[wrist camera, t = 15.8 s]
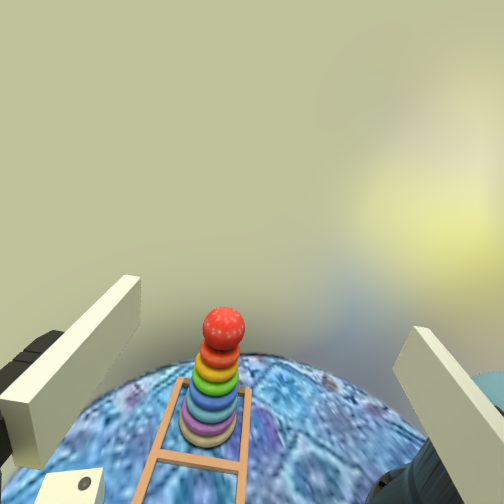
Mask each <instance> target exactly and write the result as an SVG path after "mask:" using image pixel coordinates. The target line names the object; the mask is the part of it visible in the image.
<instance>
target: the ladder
mask: <svg viewBox="0 0 504 504" xmlns="http://www.w3.org/2000/svg"><path fill="white" fill-rule="evenodd" d="M189 382H190V378H184V377H178V378H177V381H176V384H175V386H174V389H173V392H172V394H171V397H170V400H169V403H168V405H167V408H166V411H165V413H164V416H163V419H162V422H161V424H160V427H159V430H158V432H157V435H156V438H155V441H154V443H153V446H152V449H151V451H150V454H149V457H148V460H147V462H146V465H145V468H144V470H143V473H142V476H141V478H140V481H139V484H138V487H137V489H136V492H135V495H134V497H133V500H132V503H131V504H143V501H144V498H145V495H146V492H147V489H148V486H149V483H150V480H151V477H152V474H153V471H154V468H155V465H156V462H163V463H169V464H175V465H181V466H187V467H193V468H199V469H206V470H212V471H218V472H224V473H230V474H236V475H238V477H237V488H236V500H235V504H245V494H246V477H247V460H248V443H249V426H250V410H251V393H252V389H248V388H242V387H238V393H237V394H238V396H242V397H244V407H243V418H242V430H241V442H240V453H239V462H237V461H231V460H225V459H219V458H213V457H207V456H200V455H194V454H188V453H182V452H176V451H170V450H164V449H161V447H162V444H163V441H164V438H165V436H166V433H167V430H168V427H169V424H170V421H171V418H172V415H173V412H174V409H175V406H176V403H177V400H178V397H179V394H180V391H181V388H182V386H183V387H189Z"/></svg>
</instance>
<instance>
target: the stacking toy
mask: <svg viewBox="0 0 504 504" xmlns="http://www.w3.org/2000/svg"><path fill="white" fill-rule="evenodd" d="M244 332H245V325H244V320H243V318H242V316H241V315H240V314H239V313H238V312H237V311H236V310H234V309H232V308H229V307H220V308H217V309H214V310H213V311H211V312H210V313H209V314H208V315H207V317H206V318H205V320H204V323H203V335H204V338H205V340H204V341H203V342H202V344H201V347H200V352H199V353H198V355H197V357H196V360H195V366H194V368H193V373H192V377H191V379H190V382H189V388H188V390H187V394H186V396H185V397H184V400H183V402H182V408H181V411H180V416H179V425H180V429H181V432H182V434H183V435H184V437H185V438H186V439H187V440H188V441H189V442H190V443H192V444H194V445H196V446H199V447H214V446H217V445H219V444H221V443H223V442H224V441H226V440H227V439H228V438H229V437H230V435H231V434H232V432H233V430H234V428H235V425H236V405H237V401H238V394H237V393H238V378H239V373H238V364H239V363H238V358H239V355H240V347H239V343H240V341H241V340H242V338H243V336H244Z"/></svg>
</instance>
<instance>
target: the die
mask: <svg viewBox="0 0 504 504" xmlns="http://www.w3.org/2000/svg"><path fill="white" fill-rule="evenodd" d="M104 497H105V488H104V470H103V468H94V469H84V470H74V471H65V472H55V473H47V474H46V476H45V479H44V481H43V483H42V486H41V488H40V491H39V493H38V496H37V498H36V500H35V503H34V504H103V501H104Z"/></svg>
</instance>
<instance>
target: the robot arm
mask: <svg viewBox="0 0 504 504" xmlns="http://www.w3.org/2000/svg"><path fill="white" fill-rule="evenodd" d="M140 297H141V277H135V276H130V275H124V276H123V277H122V278H121V279H119V281H118V282H116V283H115V284H114V285H113V286H112V287H111V288H110V289H109V290H108V291H107V292H106V293H105V294H104V295H103V296H102V297H101V298H100V299H99V300H98V301H97V302H96V303H95V304H94V305H93V306H92V307H91V308H90V309H89V310H88V311H87V312H85V313H84V314H83V316H81V317H80V318H79V319H78V320H77V321H76V322H75V323H74V324H73V325H72V326H71V327H70V328H69V329H68V330H67V331H66V332H61V331H56V330H52V331H50V332H48V333H46V334H44V335H42V336H40V337H38V338H37V339H35V340H34V341H33V342H32V343H31V344H30V345H28V346H27V347H26V348H25V349H24V351H23V352H20V353H19V354H18V355H17V356H16V357H15V358H14V359H13V361H12V362H9V363H8V364H7V365H6V366H4V367H3V368H2V369H1V370H0V467H1V466H2V465H3V464H4V462H5V461H6V460H7V459H8V458H9V456H10V455H11V454H12V456H13V460H14V463H15V466H19V467H25V468H31V469H38V470H42V469H43V468H44V466H45V465H46V463H47V462H48V460H49V459H50V457H51V456H52V454H53V453H54V451H55V450H56V449H57V447H58V446H59V444H60V443H61V441H62V440H63V438H64V437H65V435H66V434H67V432H68V431H69V429H70V428H71V426H72V425H73V423H74V422H75V420H76V419H77V417H78V416H79V414H80V413H81V411H82V410H83V408H84V407H85V406H86V404H87V403H88V401H89V400H90V398H91V396H92V395H93V394H94V392H95V391H96V389H97V388H98V386H99V385H100V383H101V382H102V380H103V379H104V377H105V376H106V374H107V373H108V371H109V370H110V368H111V367H112V365H113V364H114V362H115V361H116V360H117V358H118V356H119V355H120V354H121V352H122V351H123V349H124V348H125V346H126V345H127V343H128V342H129V340H130V339H131V337H132V336H133V334H134V333H135V331H136V330H137V328H138V327H139V325H140ZM392 369H393V371H394V373H395V375H396V377H397V379H398V380H399V382H400V384H401V386H402V388H403V389H404V392H405V393H406V395H407V397H408V399H409V401H410V403H411V405H412V406H413V408H414V410H415V412H416V414H417V416H418V417H419V419H420V421H421V423H422V425H423V427H424V429H425V431H426V432H427V434H428V436H429V437H428V438H427V440H426V441H425V443H424V444H423V446H422V447H421V449H420V450H419V452H418V453H417V455H416V456H415V458H414V459H413V461H412V462H410V463H408V464H405V465H403V466H401V467H398V468H396V469H394V470H391V471H389V472H387V473H385V474H384V475H382V476H381V477H380V478H379V479H378V480H377V482H376V483H375V484H374V486H373V488H372V489H371V491H370V493H369V495H368V497H367V499H366V502H365V504H504V372H485V373H481V374H478V375H475V376H473V377H472V378H470V377H469V376H468V375H467V373H466V372H465V371H464V370H463V368H462V367H461V366H460V365H459V364H458V363H457V361H456V360H455V359H454V358H453V357H452V355H451V354H450V353H449V352H448V351H447V349H446V348H445V347H444V346H443V345H442V343H441V342H440V341H439V340H438V339H437V338H436V336H435V335H434V334H433V333H432V332H431V330H430V329H428V328H423V327H417V326H413V328H412V330H411V332H410V334H409V336H408V338H407V340H406V342H405V344H404V346H403V348H402V350H401V352H400V354H399V356H398V358H397V360H396V362H395V364H394V366H393V368H392ZM1 475H2V473H1V470H0V504H1Z"/></svg>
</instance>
